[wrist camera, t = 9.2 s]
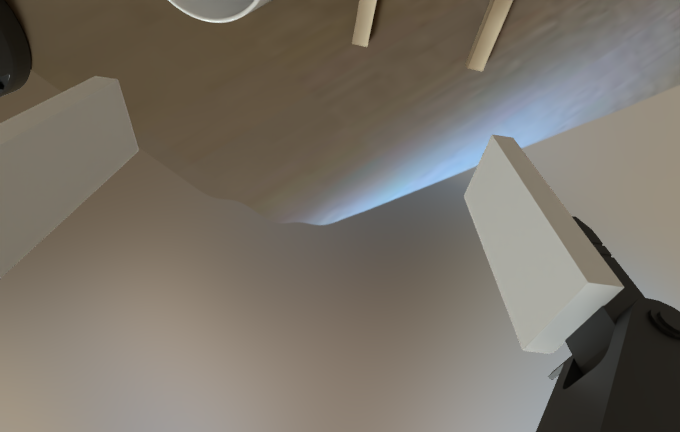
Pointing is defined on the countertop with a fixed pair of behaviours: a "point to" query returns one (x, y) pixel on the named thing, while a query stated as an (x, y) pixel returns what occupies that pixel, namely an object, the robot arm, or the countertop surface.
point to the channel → (481, 45)
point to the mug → (218, 8)
